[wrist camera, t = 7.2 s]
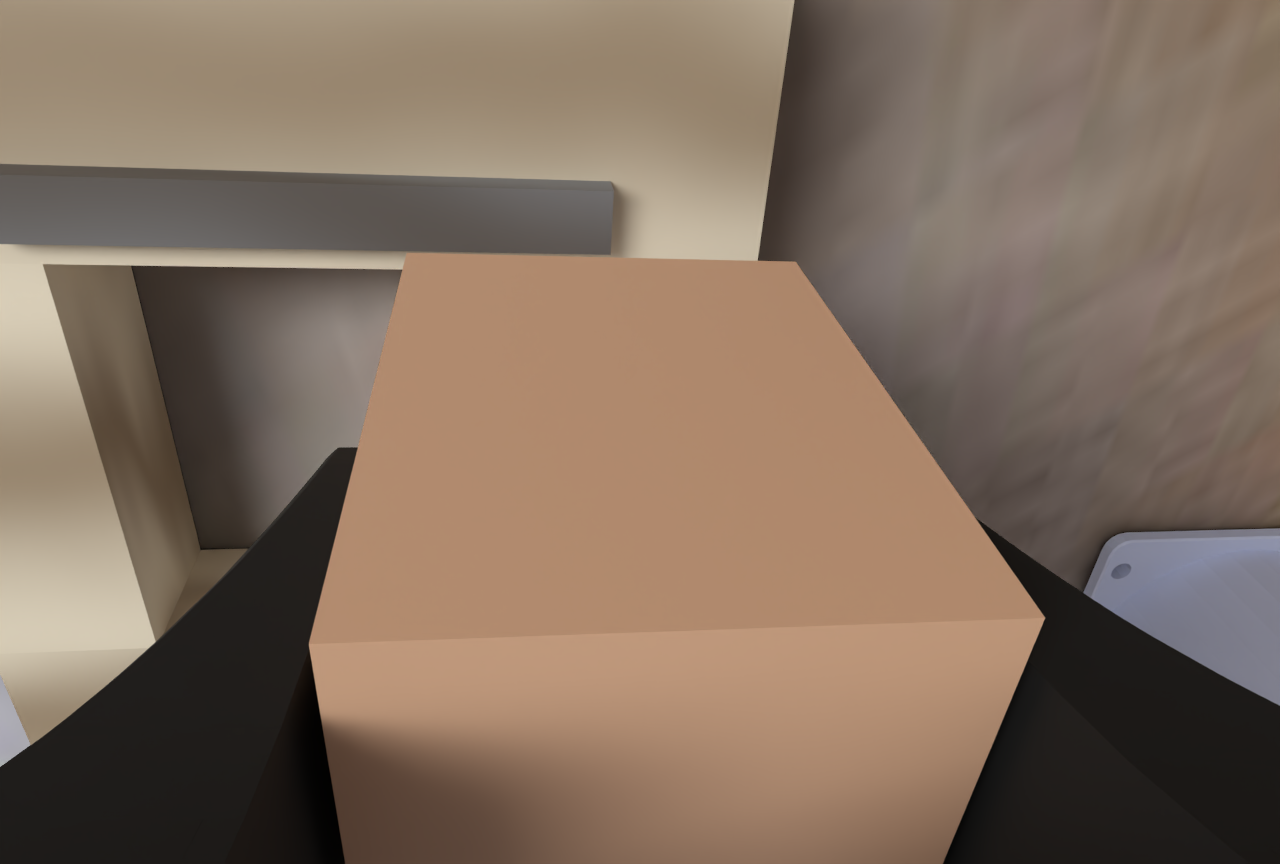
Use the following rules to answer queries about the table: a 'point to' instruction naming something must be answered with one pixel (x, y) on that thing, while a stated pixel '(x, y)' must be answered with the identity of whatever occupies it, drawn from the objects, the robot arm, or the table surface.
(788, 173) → the table surface
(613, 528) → the block
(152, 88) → the slotted wooden holder
